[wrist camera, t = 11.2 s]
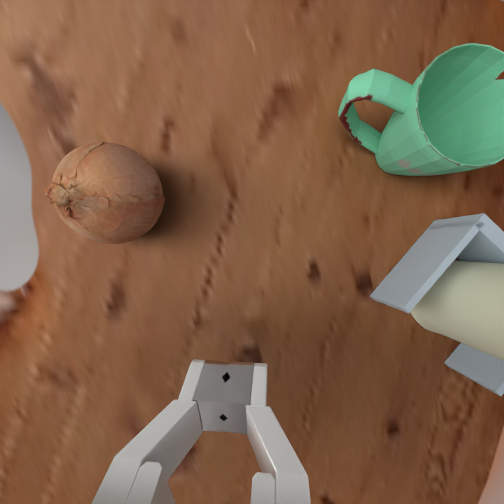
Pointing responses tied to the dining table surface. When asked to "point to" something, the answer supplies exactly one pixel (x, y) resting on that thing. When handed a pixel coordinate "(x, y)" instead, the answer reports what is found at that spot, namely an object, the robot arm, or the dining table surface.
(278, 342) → the dining table surface
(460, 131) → the mug
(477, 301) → the can
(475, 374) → the holder
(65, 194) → the onion
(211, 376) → the robot arm
